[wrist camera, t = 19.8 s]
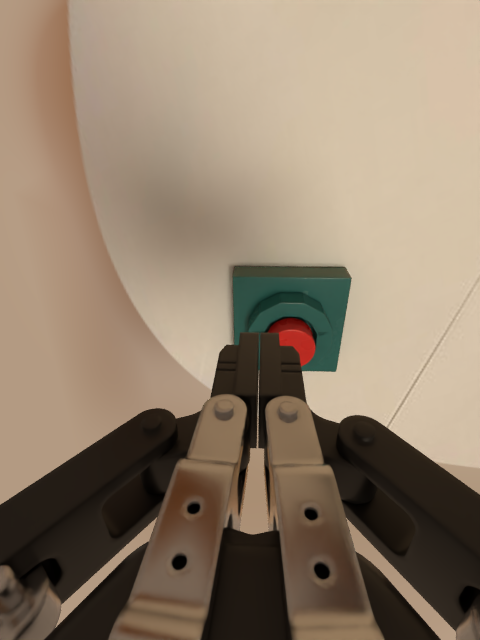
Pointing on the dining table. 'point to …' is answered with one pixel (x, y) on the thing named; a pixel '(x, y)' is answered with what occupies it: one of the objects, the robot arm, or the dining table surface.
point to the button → (295, 337)
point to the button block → (294, 305)
